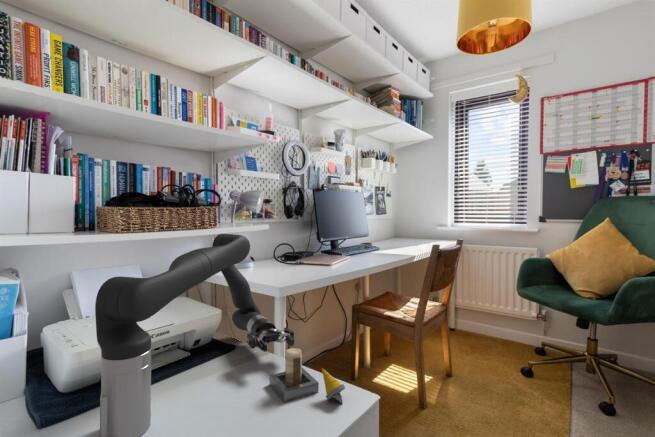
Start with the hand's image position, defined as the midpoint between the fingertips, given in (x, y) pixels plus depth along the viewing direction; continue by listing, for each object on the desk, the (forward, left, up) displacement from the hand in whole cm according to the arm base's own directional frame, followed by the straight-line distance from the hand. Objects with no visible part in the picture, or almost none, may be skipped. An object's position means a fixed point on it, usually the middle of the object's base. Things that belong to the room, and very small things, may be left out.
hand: (279, 345), depth 98 cm
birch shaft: (0, -10, -8) cm, 13 cm away
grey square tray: (0, -10, -8) cm, 13 cm away
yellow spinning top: (+6, -20, -8) cm, 23 cm away
